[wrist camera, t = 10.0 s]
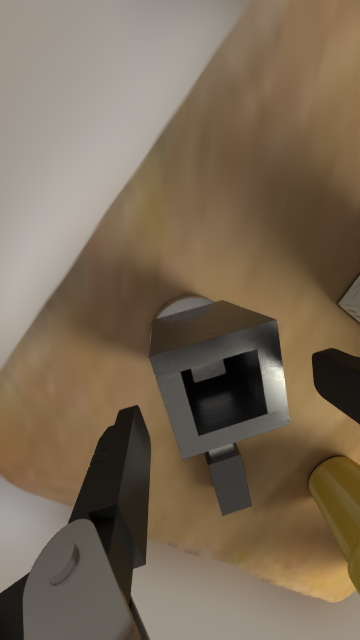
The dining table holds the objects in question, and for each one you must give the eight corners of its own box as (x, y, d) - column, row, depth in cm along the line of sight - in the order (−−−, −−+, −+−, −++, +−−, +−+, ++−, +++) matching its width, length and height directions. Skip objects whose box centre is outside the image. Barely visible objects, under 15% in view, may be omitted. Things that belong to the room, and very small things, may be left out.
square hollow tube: (235, 363, 15) (289, 424, 9) (171, 382, 15) (182, 459, 9) (222, 300, 14) (276, 319, 8) (152, 319, 14) (149, 357, 7)
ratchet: (140, 307, 16) (130, 324, 10) (218, 285, 16) (253, 290, 10) (199, 493, 21) (215, 574, 16) (256, 473, 22) (292, 545, 16)
